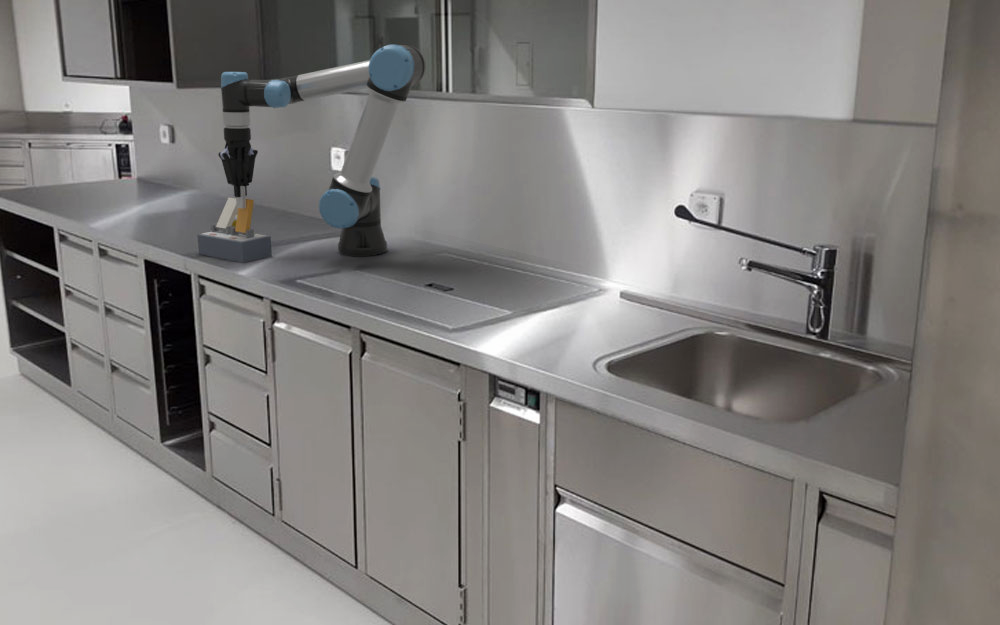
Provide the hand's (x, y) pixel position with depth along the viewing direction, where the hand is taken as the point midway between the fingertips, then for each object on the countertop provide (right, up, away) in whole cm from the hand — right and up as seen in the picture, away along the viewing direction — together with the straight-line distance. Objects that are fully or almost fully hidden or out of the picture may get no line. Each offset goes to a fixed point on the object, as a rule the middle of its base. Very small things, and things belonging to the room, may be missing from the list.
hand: (241, 207), depth 274 cm
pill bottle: (-7, -9, +23) cm, 26 cm away
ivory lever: (-8, -6, +6) cm, 11 cm away
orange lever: (0, -7, +2) cm, 7 cm away
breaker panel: (-3, -14, +6) cm, 15 cm away
